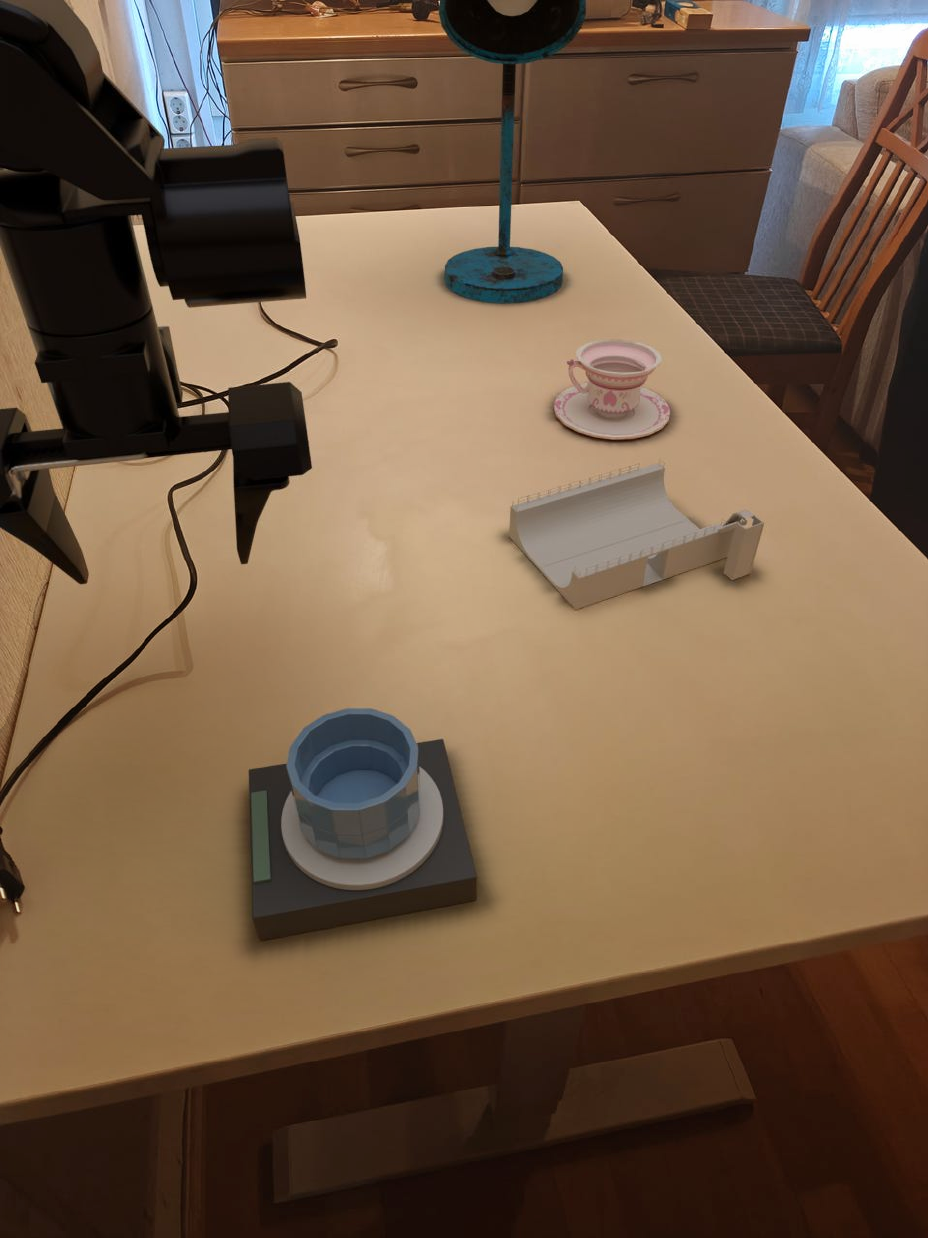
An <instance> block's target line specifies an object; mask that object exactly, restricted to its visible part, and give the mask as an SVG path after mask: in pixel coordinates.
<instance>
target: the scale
mask: <svg viewBox="0 0 928 1238" xmlns="http://www.w3.org/2000/svg"><path fill="white" fill-rule="evenodd" d="M416 743H417V746H418V751H419V770H420V788H421V805H420V816H419V818H418V820H417V822H416V824H415V826H414V827H413V829H412V831H411V833H410V834H409V835H408V837H406V838H405V839H404V840H403V841H401V842H400V843H399V844H398V845H396V846H395V847H394V848H393V849H391V850H389V851H388V852H385V853H382V854H379V855H376V856H373V857H370V858H367V859H366V858H364V859H358V858H337V857H335V856H332V855H330V854H327V853H325V852H322V851H320V850H318V849H317V848H316V847H315V846H314V845H313V844H312V843H311V842H310V841H309V840H308V839H307V838H306V837H305V836H304V835H303V833H302V831H301V827H300V824H299V821H298V818H297V814H296V809H295V805H294V800H293V795H292V791H291V786H290V782H289V777H288V772H287V768H286V764H287V763H281V764H275V765H269V766H262V767H255V768H250V769H248V797H249V799H248V801H249V804H248V805H249V837H250V838H249V839H250V841H249V842H250V873H251V875H250V876H251V880H250V881H251V909H252V910H251V911H252V912H251V913H252V921H253V924H254V927H255V930H256V934H257V937H258V940H259V941H266V940H272V939H278V938H283V937H288V936H293V935H298V934H303V933H310V932H315V931H320V930H326V929H330V928H335V927H341V926H346V925H351V924H357V923H364V922H367V921H373V920H378V919H379V920H380V919H384V918H390V917H394V916H399V915H405V914H411V913H416V912H421V911H426V910H431V909H436V908H442V907H448V906H453V905H458V904H464V903H470V902H473V901H474V902H475V901H477V897H478V896H477V895H478V894H477V893H478V875H477V871H476V868H475V867H476V866H475V863H474V859H473V854H472V850H471V847H470V842H469V838H468V835H467V831H466V826H465V822H464V819H463V813H462V810H461V806H460V802H459V798H458V792H457V790H456V785H455V781H454V777H453V773H452V769H451V765H450V761H449V757H448V753H447V749H446V745H445V740H444V739H443V738H439V739H432V740H427V741H419V742H416Z"/></svg>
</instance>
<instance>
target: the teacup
mask: <svg viewBox="0 0 928 1238" xmlns="http://www.w3.org/2000/svg"><path fill="white" fill-rule="evenodd" d="M575 356H576V359H577V360H574V359H570V360H567V361H566V364H567V365H568V376H569V379H570V382H571V383H572V384H573V386H570V387H568V388H566V389H564V390H563V391H562V392H561V393H559V394H558V395H557V396H556V398H555V400H554V403H553V410H554V414H555V417H556V418H557V419H558V420H559V421H560V422H561V423H562V425H564V426H565V427H566V428H569V429H571V430H573V431H575V432H576V433H579V434H582V435H586V436H589V437H592V438H599V439H605V440H613V441H614V440H616V441H617V440H635V439H638V438H643V437H648V436H650V435H651V436H652V435H653V434H655V433H656V432H659V431H661V430H662V429H664V427H665V426H666V425H667V424H668V423H669V421H670V414H671V408H670V406H669V405H668V403H667V401H666V400H665V399H664V398H663V397H661V396H660V395H659V394H658V393H656V392H654V391H652V390H650V389H648V388H646V387H644V386H643V385H644V384H645V383H646V382H647V380H648V377H649V376H650V375H651V374H652V373H653V372H655V370H656V368H658V367H659V366H660V365H661V363H662V362H663V361H662V360H663V356H662V354H661V353H660V352H659V351H658V350H657V349H656V348H654V347H652V346H650V345H648V344H645V343H643V342H638V341H634V340H627V339H600V340H593V341H589V342H587V343H585V344H582V345H581V346H580V347H579V348H578V349H577V350H576V354H575ZM574 368H580V369H582V370H583V371H585V376H586V377H587V379H588V382H582V383H579V382H578V380H577V378H575V375H574V372H573V369H574Z"/></svg>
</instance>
